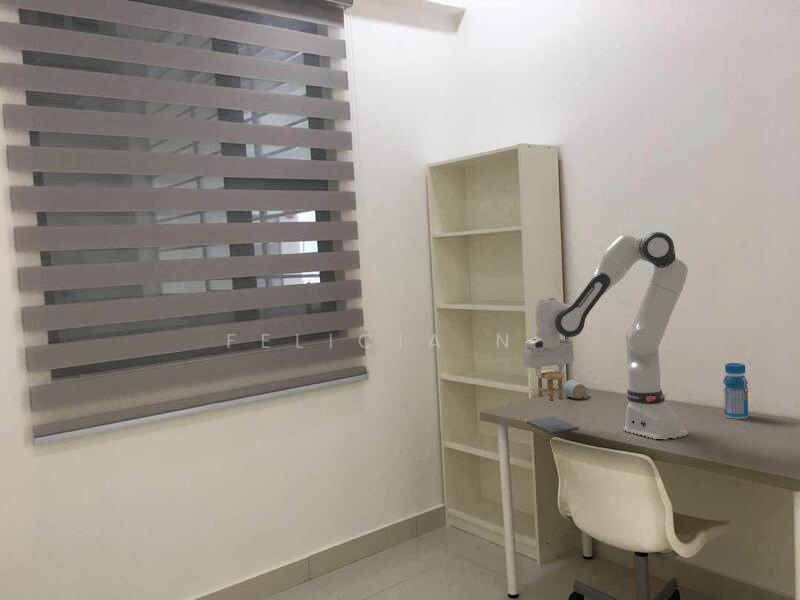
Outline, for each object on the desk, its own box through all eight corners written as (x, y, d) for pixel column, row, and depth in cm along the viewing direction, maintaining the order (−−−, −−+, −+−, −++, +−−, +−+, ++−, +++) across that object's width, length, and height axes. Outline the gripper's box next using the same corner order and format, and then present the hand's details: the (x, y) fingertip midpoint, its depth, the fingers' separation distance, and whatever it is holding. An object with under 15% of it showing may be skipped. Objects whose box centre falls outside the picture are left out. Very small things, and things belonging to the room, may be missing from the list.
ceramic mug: (573, 400, 284) (573, 383, 284) (563, 397, 292) (562, 380, 291) (593, 398, 288) (593, 381, 287) (582, 394, 296) (582, 378, 295)
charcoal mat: (579, 429, 240) (579, 427, 240) (551, 433, 236) (550, 431, 236) (553, 418, 257) (553, 416, 257) (526, 422, 253) (526, 420, 253)
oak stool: (537, 396, 250) (536, 370, 249) (550, 394, 251) (549, 369, 251) (550, 401, 240) (549, 375, 239) (564, 399, 242) (563, 373, 241)
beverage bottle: (731, 420, 239) (729, 367, 238) (719, 414, 248) (718, 363, 246) (753, 418, 239) (752, 365, 238) (741, 413, 248) (739, 361, 246)
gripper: (567, 337, 250) (568, 372, 251) (520, 342, 244) (522, 378, 245) (576, 339, 244) (578, 375, 245) (529, 344, 238) (530, 381, 239)
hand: (549, 377), depth 245 cm, fingers closed on oak stool, 6 cm apart
